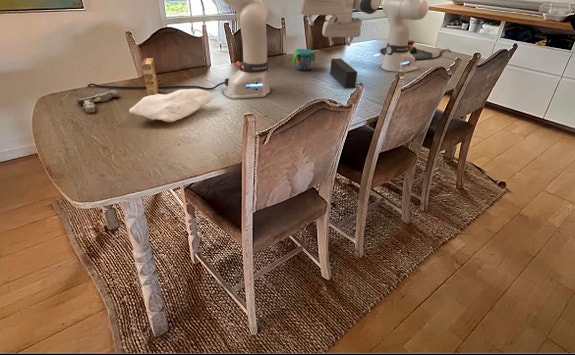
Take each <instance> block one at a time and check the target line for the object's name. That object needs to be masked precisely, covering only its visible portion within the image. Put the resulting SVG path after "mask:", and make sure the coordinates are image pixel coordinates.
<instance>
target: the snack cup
mask: <svg viewBox="0 0 575 355" xmlns="http://www.w3.org/2000/svg"><path fill="white" fill-rule="evenodd" d="M315 61H316V54H315V51H314V50H312V49H310V48H309V49H308V48H296V49H295V51H294V53H293V56H292V61H291V63H292V65H293V66H296V69H298V70H299V71H309V70H310V69H311V65H312V62H315Z"/></svg>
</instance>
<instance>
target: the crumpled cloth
mask: <svg viewBox="0 0 575 355" xmlns="http://www.w3.org/2000/svg"><path fill="white" fill-rule="evenodd" d="M213 97H214V96H213V94H212V93H210V92H208V91H207V90H205V89H202V88H187V89H186V88H181V89H177V90H175V91H173V92H171V93H167V94H163V93H158V94H156V95H150V96H148V95H146V96H144V97H142V98H141V99H140V100H139V101H138V102H137V103H136V104H134V105H133V106H132V107H131V108H129V114H130V115H135V116H140V117H145V118H146V119H149V120H152V121H155V120H158V121H163V122H166V123H174V122H176V121H178V120H181V119H183V118H185V117H188V116H190V115H192V114H193V113H195V112H196V111H197V110H199V109H200V108H202V107H204V106H206V105H207V104H210V102H211V101H212V100H213V99H214V98H213Z"/></svg>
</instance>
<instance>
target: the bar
mask: <svg viewBox="0 0 575 355" xmlns="http://www.w3.org/2000/svg"><path fill="white" fill-rule="evenodd" d="M329 74H330V75H331V76H332V77H333V78H334V79H335V80H336V81H337V82H338V83H339V84H340V85H341V87H343V88H344V89H356V86H355V85H357V78H358V71H357V70H356V69H354V68H353V67H352V66H351V65H350V64H348V62H346V61H345V60H343V59H342V58H331V59H330V70H329Z"/></svg>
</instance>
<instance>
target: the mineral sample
mask: <svg viewBox="0 0 575 355" xmlns="http://www.w3.org/2000/svg"><path fill="white" fill-rule="evenodd" d="M414 43H415V40H410V39H409V40H408V46H409V45H411V46H413V48H412V49H409V52H410V53H411V55H412V56H413V57H414V58H415V59H421V58H422V59H423V58H432V56H433V53H432V52H430V51H425V50H424V49H422V50H421V49H418V48H417V46H414ZM380 52H381V53H383V54H386V47H383V48H381V49H380Z"/></svg>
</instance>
